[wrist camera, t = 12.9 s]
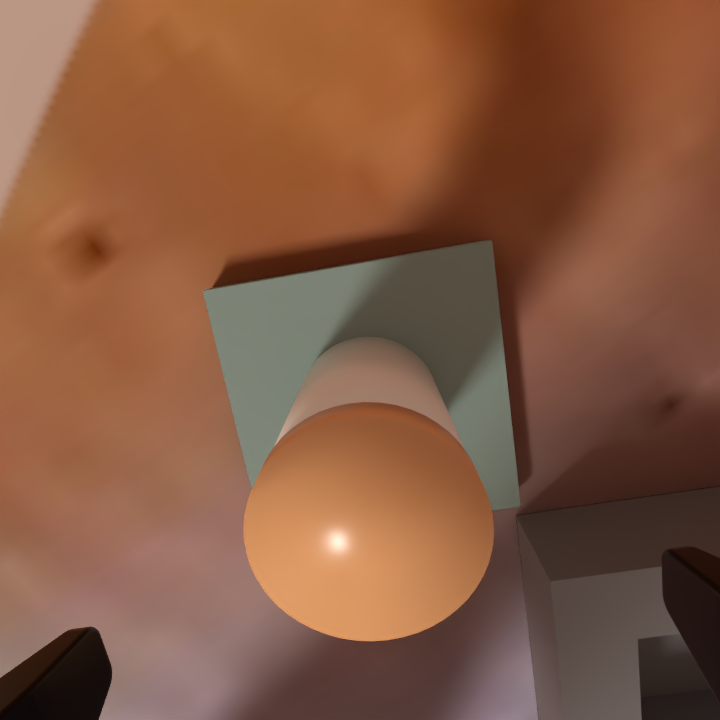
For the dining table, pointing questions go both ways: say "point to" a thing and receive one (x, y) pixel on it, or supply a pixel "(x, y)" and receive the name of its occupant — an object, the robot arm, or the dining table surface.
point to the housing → (613, 608)
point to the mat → (375, 319)
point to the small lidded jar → (368, 500)
